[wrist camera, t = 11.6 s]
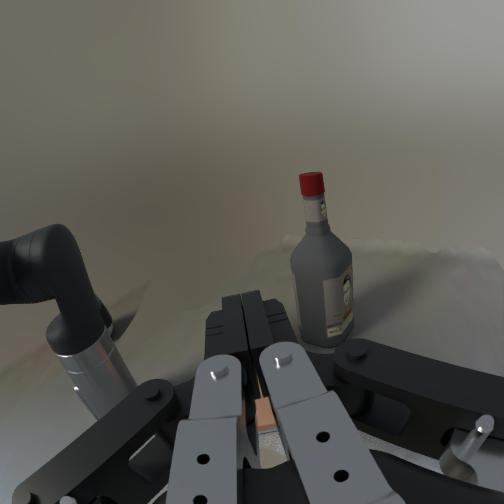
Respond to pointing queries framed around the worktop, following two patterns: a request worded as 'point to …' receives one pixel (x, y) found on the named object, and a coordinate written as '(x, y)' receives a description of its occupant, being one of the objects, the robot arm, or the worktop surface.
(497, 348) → the worktop surface
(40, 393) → the worktop surface
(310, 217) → the liquor
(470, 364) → the worktop surface
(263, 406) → the tile
